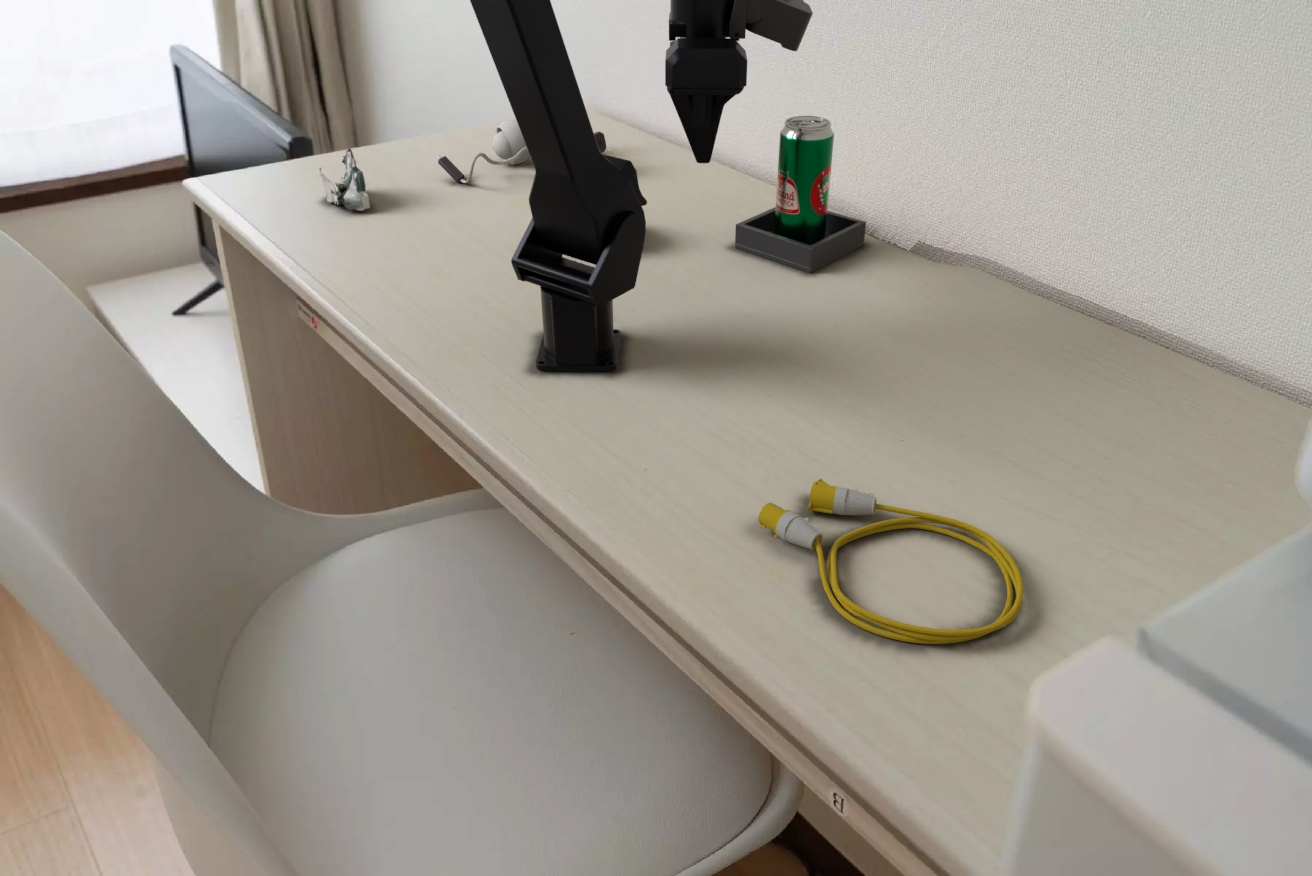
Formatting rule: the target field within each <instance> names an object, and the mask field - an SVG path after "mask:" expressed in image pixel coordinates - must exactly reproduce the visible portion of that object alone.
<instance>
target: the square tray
mask: <svg viewBox="0 0 1312 876" xmlns="http://www.w3.org/2000/svg"><path fill="white" fill-rule="evenodd" d="M775 209H776V206H774V207H772V208H770V209H768V210H765V211H763V212H761V213H759V214H756V215H754V216H752V217H750V218H748V219H745V220H743V221H740V222H738V223H736V224H735V238H734V248H735V249H737V250H741V251H744V252H747V253H750V254H752V255H755V256H758V257H761V258H764V259H767V260H770V261H773V262H777V263H779V264H782V265H785V266H788V267H790V268H794V269H797V270H800V271H803V272H806V273H809V274H811V273H813V272H815V271H817V270H819V269H820V268H822V267H824V266H826V265H828V264H830V263H832V262H834V261H837V260H838V259H840V258H842V257H844V256H846V255H847V254H850V253H852V252H853V251H856V250H857V249H859V248H861V247H863V246H864V245H865V236H866V227H867V221H864V220H861V219H859V218H855V217H851V216H848V215H845V214H840V213H837V212H835V211H831V210H827V221H826V233H825V239H823V240H821V241H819V242H817V243H815V244H813V245H808V244H805V243H801V242H798V241H795V240H792V239H789V238H786V237H783V236H780V235H776V234H774V225H775Z"/></svg>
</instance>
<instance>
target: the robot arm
mask: <svg viewBox="0 0 1312 876" xmlns="http://www.w3.org/2000/svg"><path fill="white" fill-rule="evenodd" d="M469 2H470V4H471V7H472V9H473V12H474V14H475V17H476V20H477V22H478V24H479V27H480V30H481V32H482V35H483V37H484V38H483V39H484V40H485V43H486V45H487V48H488V50H489V53H490V55H491V58H492V61H493V63H494V66H495V68H496V72H497V73H498V76H499V78H500V81H501V84H502V87H503V90H504V92H505V94H506V98H507V99H508V102H509V105H510V108H511V110H512V112H513V115H514V118H515V120H517V123H518V125H519V128H520V130H521V133H522V136H523V138H524V141H525V143H526V146H527V149H528V151H529V154H530V156H531V157H530V159H531V161H532V164H533V167H534V171H535V174H534V178H533V180H532V184H531V188H530V192H529V195H528V203H529V204H528V205H529V208H530V212H531V220H530V222H529V223H528V225H527V228H526V230H525V232H524V233H523V236H522V237H521V239H520V241H519V244H518V245H517V247H516V249H515V251H514V253H513V255H512V257H511V259H510V260H511V261H510V262H511V266H512V268H513V271H514V274H515V275H516V278H517V280H518V281H521V282H527V283H530V284H533V285H536V286H539V288H540V299H541V300H540V302H541V303H540V304H541V316H542V318H541V319H542V331H543V333H542V337H541V340H540V344H539V348H538V353H537V357H536V360H535V369H536V370H539V371H578V372H579V371H582V372H583V371H585V372H586V371H587V372H590V371H593V372H597V371H598V372H600V371H601V372H613V371H616V370H617V369H618V363H619V355H620V353H619V352H620V347H621V339H622V331H621V330H620V329H615V328H614V307H613V306H614V303H613V300H615V299H616V298H619V297H621V296H622V295H624V294H626V293H628V292H630V291H631V290H633V289H635V287H636V284H637V279H638V274H639V271H640V265H641V260H642V255H643V250H644V246H645V241H646V234H647V221H646V215H645V211H644V208H643V206H647V204H648V200H647V199H646V198H645V197H644V196H643V193H642V191H641V189H640V184H639V180H638V179H639V178H638V173H637V169H636V168H635V166H634V164H633V162H632V161H631V160H629V159H625V158H620V157H617V156H613V155H609V154H605V153H601V152H600V150H599V148H598V145H597V142H596V139H595V136H594V133H595V132H594V131H593V130H594V129H593V127H592V123H591V121H590V117H589V115H588V112H587V108H586V106H585V102H584V99H583V97H582V94H581V89H580V88H579V84H578V81H577V77H576V75H575V72H574V69H573V66H572V63H571V60H570V57H569V54H568V51H567V47H566V45H565V41H564V38H563V34H562V32H561V29H560V26H559V23H558V20H557V17H556V13H555V10H554V7H553V4H552V2H551V0H469ZM669 9H670V12H669V16H668V41H669V47H668V48H667V49H666V51H665V59H664V60H665V61H664V63H665V64H664V71H665V72H664V75H665V76H664V78H665V79H664V84H665V85H664V86H665V87H666V90H667V93H668V94H669V96H670V99H671V102H672V103H673V105H674V108H675V111H676V113H677V116H678V118H679V120H680V124H681V125H682V128H683V131H684V134H685V135H686V138H687V142H688V143H689V146H690V148H691V151H692V155H693V156H694V160H695V162H696V163H697V164H710V163H711V160H712V156H713V152H714V148H715V144H716V143H715V142H716V139H717V135H718V130H719V127H720V122H721V119H722V115H723V111H724V107H725V105H726V104H727V103H728V102H729V101H730V100H732V98H734V97H735V96H737V95H740V94H741V93H742V92H743V90H744V89H745V87H747V82H748V81H747V78H748V55H747V51H746V49H745V48H744V47H743V46H742V45H741V43H740V40H742V39H746V31H748V32H750V33H751V34H755V35H756V36H759V37H762V38H765V39H767V40H769V41H773V42H775V43H778V44H779V45H781V47H782V48H783V49H785V50H789V51H792V52H797V51H798V50H799V47H800V45H801V43H802V40H803V38H804V36H805V33H806V30H807V29H808V26H809V23H810V21H811V19H812V16H813V13H814V12H813V10H812V8H811V6H810V4H808V3H807V2H805V0H670V8H669ZM563 256H567V257H568V258H566V257H563ZM569 257H570V258H569ZM571 258H572V259H576V260H579V261H581V262H579V261H576V260H572V259H571ZM582 262H586V263H588V264H592V265H595V266H592V265H588V264H585V263H582Z"/></svg>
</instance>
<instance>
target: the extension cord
mask: <svg viewBox="0 0 1312 876" xmlns="http://www.w3.org/2000/svg"><path fill="white" fill-rule="evenodd" d="M807 509H808V513H811V512H812V511H813V512H817V513H824V514H830V515H833V514H834V515H841V516H868V515H871V516H874V515H875V513H876V510H878V511H884V512H890V513H894V514H895V513H896V514H901V515H906V516H908V517H898V518H890V519H885V520H882V521H877V522H874V523H871V524H868V525H865V526H862V527H859V528H857V529H854V530H852V531H850V532H847V533H845V534H843V535H841V536H839V537H838V538H837V539H836V540H835V541H834V542H833V544H832V546H831V547H830V549H829V551H828V555H827V562H826V563H827V565H826V564H825V558H824V550H823V548H822V545H821V544H822V542H823V539H824V538H823V534H822V532H821V527H820V526H818V525H815V524H813V523H810V522H809V519H810V518H809V517H802V516H801V515H799V514H797V513H795V512H794V511H791V510H790V509H784V508H783V507H781V506H778V505H777V504H775V503H773V502H767V503H766V504H765V505H763V507H762V508H761V509H760V511H759V513H758V517H757V519H758V520H757V521H758V523H759V524H758V526H759V527H761V528H763V529H764V530H766V529H769V530H771V531H772V532H773V534H774V535H773V537H775V538H776V539H778V538H780V539H782V540H784V541H786V542H787V543H788V542H789V543H791V544H793V545H796V546H799V547H803V548H807V549H810V550H811V551H815V550H816V554H817V560H818V568H819V569H818V570H819V576H820V579H821V583H822V587H823V589H824V592H825V594H826V596H827V598H828V600H829V602H830V604H831V605H832V606H833V608H834V609H835V610H836V611H837V612H838V613H839V615H841V616H842V617H843V618H845V619H846V620H847V621H849V622H850V623H852V624H853V625H855V626H857V627H859V628H861V629H863V630H866V631H867V632H869V633H873V634H876V635H877V636H881V637H885V638H888V639H892V640H896V641H901V642H907V643H915V644H916V643H917V644H924V645H925V644H927V645H940V644H954V643H961V642H967V641H970V640H975V639H978V638H981V637H983V636H985V635H988V634H990V633H993V632H995V631H998V630H1000V629H1002V628H1005V627H1006V626H1008V625H1009V624H1011V623H1012V622H1014V620H1015V619H1016V618H1017V617H1018V615H1019V613H1020V611H1021V610H1022V606H1023V599H1024V583H1023V577H1022V575H1021V571H1020V569H1019V566H1018V565H1017V563H1016V561H1015V559H1014V558H1013V557H1012V555H1011V554H1010V553H1009V551H1008V550H1007V549H1006V548H1005V547H1004V546H1003V545H1002V544H1001V543H1000V542H998V540H996V539H995V538H994V537H993V536H992V535H990V534H989V533H987V532H985V531H984V530H982V529H980V528H978V527H977V526H974V525H972V524H969V523H966V522H964V521H960V520H957V519H955V518H950V517H947V516H942V515H937V514H934V513H931V512H930V513H929V512H924V511H918V510H913V509H907V508H901V507H896V506H890V505H884V504H879V503H877V496H875V495H874V494H873V493H871V492H860V491H859V490H858V488H856V489H851V488H849V487H843V486H835V485H830V484H828V483H827V482H826V481H825V480H824V479H822V478H818V480H816V481H814V482H813V483H812V485H811V488H810V491H809V498H808V508H807ZM932 524H937V525H943V526H946V527H947V526H948V527H951V528H955V529H957V530H961V531H962V532H963V531H964V532H965V533H968V534H970V535H972V536H974V537H976V538H977V539H979V540H980V541H982V542H983V543H984V544H985V545H984V544H982V543H981V542H979V541H977V540H974V539H973V538H970V537H968V536H967V535H964V534H961V533H959V532H956V531H953V530H950V529H947V528H944V527H940V526H936V525H932ZM901 529H920V530H925V531H932V532H936V533H939V534H942V535H947V536H949V537H952V538H955V539H957V540H960V541H963V542H965V543H967V544H968V545H970V546H972V547H975V548H976V549H978V550H980V551H982V552H984V553H985V554H987V555H988V556H989V557H991V558H992V559H993V560H994V561H995V563H996V564H997V566H998V567H999V569H1000V570H1001V572H1002V575H1003V579H1004V581H1005V584H1006V585H1005V586H1006V595H1007V596H1006V602H1005V605H1004V608H1003V610H1002V612H1001V614H1000V615H999V617H998V618H997V619H996V620H995V621H994V622H993V623H991V624H989V625H985V626H981V627H973V628H966V629H944V628H933V627H927V626H919V625H914V624H909V623H905V622H901V621H897V620H893V619H890V618H887V617H884V616H883V615H879V614H877V613H874V612H872V611H869V610H868V609H865V608H863V607H862V606H860V605H858V604H857V603H855V602H853V601H852V600H851V599H849V597H847V596H846V595H845V594H844V593H843V592H842V590H841V589H840V588H841V587H840V586H839V579H838V578H839V577H838V568H837V553H838V550H839V548H841V547H843V546H844V545H846V544H848V543H849V542H852V541H854V540H857V539H859V538H862V537H863V538H864V537H867V536H870V535H873V534H878V533H882V532H888V531H894V530H901ZM826 569H827V572H826ZM1013 586H1014V589H1015V595H1016V597H1015V600H1014V603H1013V599H1014V589H1013ZM830 587H831V588H830ZM840 604H841V605H840ZM851 614H852V615H851ZM856 617H857V618H856ZM858 618H860V619H862V620H864V621H866V622H868V623H871V624H874V625H876V626H878V627H881V628H883V629H881V628H878V627H875V626H873V625H871V624H868V623H866V622H864V621H862V620H860V619H858ZM885 629H886V630H885Z"/></svg>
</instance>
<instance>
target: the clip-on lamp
mask: <svg viewBox="0 0 1312 876" xmlns="http://www.w3.org/2000/svg"><path fill="white" fill-rule="evenodd" d="M495 131H496V132H495V133H496V134H495V135H494V137H493V139H492V148H493V152H494V154H495V155H496V156H497V157H498V158H500V159H503V160H494V159H492V158H490V157H489V156H488V155H487V154H486V153H484V152H479V153H476V155H474V157H473V160H472V161H471V164H470V169H469V174H468V177H467V179H466V180H465V178H466V175H465V174H464V173H463V172H462V171H461V170H460V169H458V167H457V166H456V165H455V164H454V163H453V162H452V161H451V159H449V158H448V157H447V156H446V155H444V156H442V155H441V154H437V155H436V158H437V159H438V160H437V163H438V164H439V166H440V167H441V168H442V169H443V170H444V171H445V172H446V173H447V174H448V175H449V176H450V177H451V178H452V179H453V180H454V181H455V182H456V183H457V184H459V183H462V184H469V183H470V182H471V181H472V178H473V174H474V168H475V165H476V162H477V160H478V159H479V158H480V157H482V158H484V160H485V161H486V162H487V163H489V164H490V165H495V166H496V165H497V166H499V165H500V166H503V165H507V164H508V165H509V164H511V165H518V164H522V163H524V162H526V161H528V160H529V159H531V156H530V154H529V151H528V149H527V146H526V143H525V141H524V138H523V136H522V133H521V130H520V128H519V125H518V123H517V120H516V119H508V120H506V121H503V122H501V123H500V124H498V125H497V127H496V130H495ZM593 133H594V136H595V139H596V142H597V145H598V148H599V150H600V152H601V153H602V154H604V153H605V152H606V150H607V143H606V137H605V133H604V132H601V131H596V132H593Z"/></svg>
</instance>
